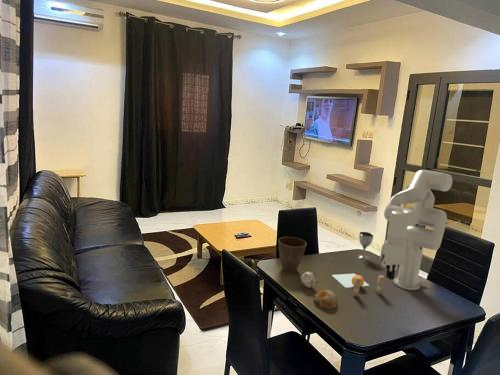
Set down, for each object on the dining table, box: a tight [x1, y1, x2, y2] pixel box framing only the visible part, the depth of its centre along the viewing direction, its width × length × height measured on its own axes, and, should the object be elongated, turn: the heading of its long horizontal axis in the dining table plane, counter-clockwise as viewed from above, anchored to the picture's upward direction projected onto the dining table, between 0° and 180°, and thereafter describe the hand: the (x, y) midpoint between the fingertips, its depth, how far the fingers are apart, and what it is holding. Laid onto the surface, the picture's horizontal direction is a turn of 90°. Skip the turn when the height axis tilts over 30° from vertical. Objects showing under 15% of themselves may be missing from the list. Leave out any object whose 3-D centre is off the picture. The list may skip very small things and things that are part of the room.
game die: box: [298, 269, 319, 290], centre depth 181 cm, size 9×8×10 cm
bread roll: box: [313, 289, 338, 309], centre depth 167 cm, size 10×10×8 cm
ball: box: [352, 274, 365, 288], centre depth 185 cm, size 6×6×6 cm
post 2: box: [375, 274, 385, 296], centre depth 179 cm, size 3×3×9 cm
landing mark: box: [331, 273, 370, 289], centre depth 192 cm, size 14×14×1 cm
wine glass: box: [356, 231, 374, 261], centre depth 224 cm, size 8×8×15 cm
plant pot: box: [278, 236, 307, 273], centre depth 198 cm, size 15×15×16 cm
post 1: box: [352, 277, 361, 298], centre depth 175 cm, size 3×3×9 cm
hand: (389, 278), depth 163 cm, fingers closed
